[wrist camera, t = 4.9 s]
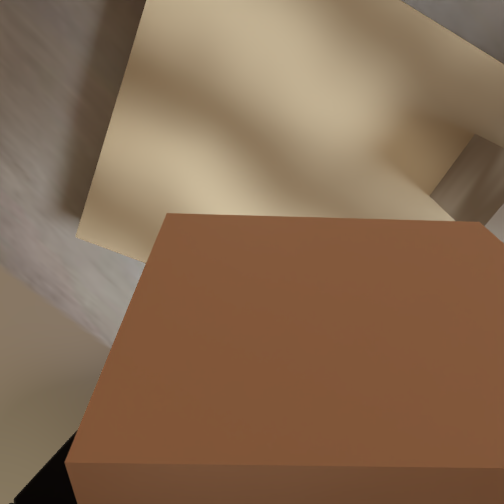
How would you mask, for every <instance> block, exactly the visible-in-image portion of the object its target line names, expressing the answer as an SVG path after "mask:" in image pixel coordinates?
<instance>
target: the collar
mask: <svg viewBox="0 0 504 504" xmlns="http://www.w3.org/2000/svg"><path fill="white" fill-rule="evenodd" d="M64 463H65V466H66V469H67V472H68V475H69V479H70V482H71V485H72V488H73V491H74V494H75V498H76V501H77V504H504V243H503V242H502V241H500V240H499V239H498V238H497V237H496V236H495V235H494V234H493V233H491V232H490V231H489V230H488V229H487V228H486V227H485V226H484V225H482V224H481V223H480V222H466V221H430V220H395V219H359V218H324V217H288V216H252V215H217V214H181V213H167V214H166V216H165V219H164V221H163V223H162V226H161V228H160V231H159V233H158V236H157V238H156V240H155V243H154V245H153V248H152V250H151V253H150V255H149V258H148V260H147V262H146V265H145V267H144V270H143V272H142V275H141V277H140V280H139V282H138V284H137V287H136V289H135V292H134V294H133V297H132V299H131V301H130V304H129V306H128V309H127V311H126V314H125V316H124V319H123V321H122V323H121V326H120V328H119V331H118V333H117V336H116V338H115V340H114V343H113V345H112V348H111V350H110V353H109V355H108V358H107V360H106V362H105V365H104V367H103V370H102V372H101V375H100V377H99V380H98V382H97V384H96V387H95V389H94V392H93V394H92V397H91V399H90V402H89V404H88V406H87V409H86V411H85V414H84V416H83V419H82V421H81V424H80V426H79V428H78V431H77V433H76V436H75V438H74V441H73V443H72V445H71V448H70V450H69V453H68V455H67V458H66V460H65V462H64Z"/></svg>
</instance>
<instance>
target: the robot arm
mask: <svg viewBox="0 0 504 504" xmlns="http://www.w3.org/2000/svg"><path fill="white" fill-rule="evenodd" d="M77 431H78V430H77ZM77 431H76V432H75V433H74V434H73V435H72V436H71V437H70V438H69V440H68V441H67V442H66V443H65V444H64V445H63V446H62V447H61V448H60V449H59V450H58V451H57V453H56V454H55V455H54V456H53V457H52V458H51V459H50V460H49V461H48V462H47V463H46V465H45V466H44V467H43V468H42V469H41V470H40V471H39V472H38V473H37V474H36V475H35V476H34V478H33V479H32V480H31V481H30V482H29V483H28V484H27V485H26V486H25V487H24V488H23V489H22V491H21V492H20V493H19V494H18V495H17V496H16V497H15V498H14V503H9V504H77V501H76V498H75V494H74V491H73V488H72V485H71V482H70V479H69V475H68V472H67V469H66V466H65V463H64V462H65V460H66V458H67V455H68V453H69V450H70V448H71V445H72V443H73V441H74V438H75V436H76V433H77Z"/></svg>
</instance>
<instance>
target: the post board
mask: <svg viewBox="0 0 504 504" xmlns="http://www.w3.org/2000/svg"><path fill="white" fill-rule="evenodd" d="M167 213H181V214H217V215H252V216H288V217H324V218H359V219H395V220H430V221H466V222H480V223H481V224H482V225H484V226H485V227H486V228H487V229H488V230H489V231H490V232H491V233H493V234H494V235H495V236H496V237H497V238H498V239H499V240H500V241H502V242H503V243H504V64H503V63H501V62H499V61H498V60H496V59H495V58H493V57H491V56H490V55H488V54H487V53H485V52H483V51H482V50H480V49H478V48H477V47H475V46H474V45H472V44H470V43H469V42H467V41H465V40H464V39H462V38H461V37H459V36H457V35H456V34H454V33H453V32H451V31H449V30H448V29H446V28H444V27H443V26H441V25H440V24H438V23H436V22H435V21H433V20H432V19H430V18H428V17H427V16H425V15H423V14H422V13H420V12H419V11H417V10H415V9H414V8H412V7H411V6H409V5H407V4H406V3H404V2H402V1H401V0H146V3H145V7H144V10H143V13H142V17H141V20H140V23H139V27H138V30H137V33H136V37H135V40H134V43H133V47H132V50H131V53H130V57H129V60H128V63H127V67H126V70H125V73H124V77H123V80H122V83H121V87H120V90H119V93H118V97H117V100H116V103H115V107H114V110H113V113H112V117H111V120H110V123H109V127H108V130H107V133H106V137H105V140H104V143H103V147H102V150H101V153H100V157H99V160H98V163H97V167H96V170H95V173H94V177H93V180H92V183H91V187H90V190H89V193H88V197H87V200H86V203H85V207H84V210H83V213H82V217H81V220H80V223H79V227H78V230H77V233H76V237H77V238H79V239H82V240H85V241H87V242H90V243H93V244H96V245H98V246H101V247H104V248H106V249H109V250H112V251H114V252H117V253H120V254H122V255H125V256H128V257H131V258H133V259H136V260H139V261H141V262H144V263H146V262H147V260H148V258H149V255H150V253H151V250H152V248H153V245H154V243H155V240H156V238H157V236H158V233H159V231H160V228H161V226H162V223H163V221H164V219H165V216H166V214H167Z"/></svg>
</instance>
